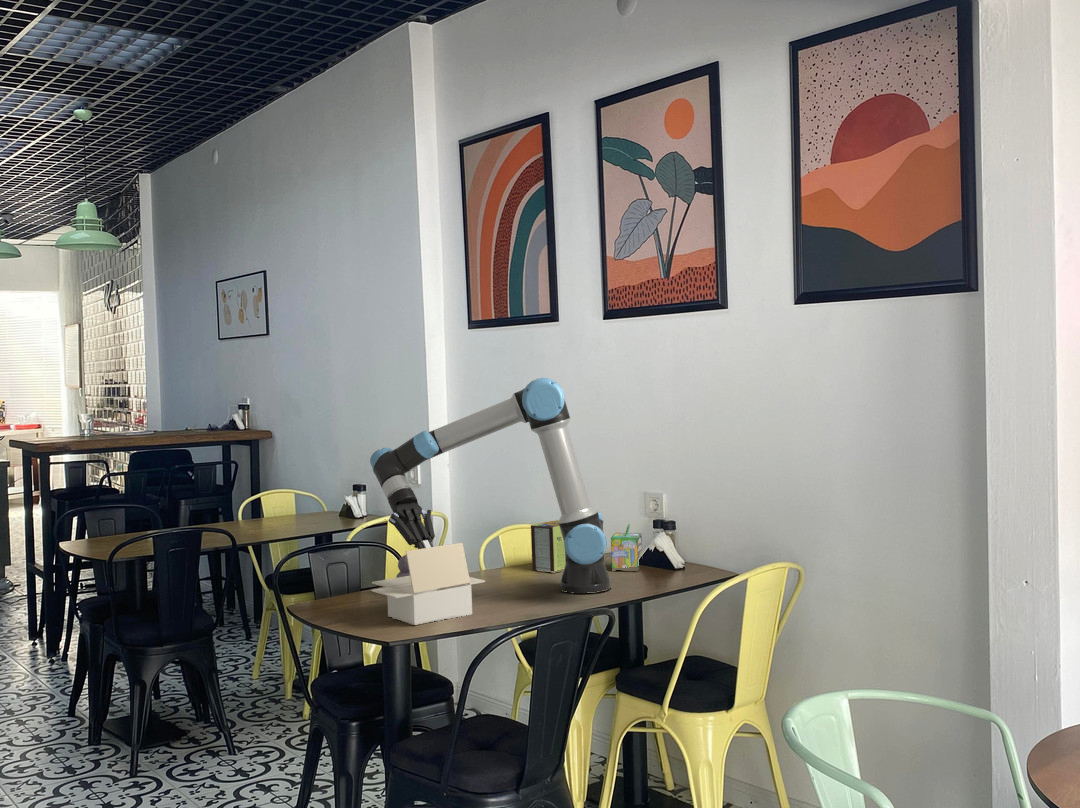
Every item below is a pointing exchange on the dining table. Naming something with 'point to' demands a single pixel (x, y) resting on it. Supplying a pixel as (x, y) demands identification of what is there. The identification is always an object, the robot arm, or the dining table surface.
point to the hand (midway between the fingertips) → (432, 562)
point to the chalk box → (626, 549)
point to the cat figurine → (403, 567)
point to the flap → (437, 567)
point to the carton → (426, 601)
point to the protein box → (547, 546)
